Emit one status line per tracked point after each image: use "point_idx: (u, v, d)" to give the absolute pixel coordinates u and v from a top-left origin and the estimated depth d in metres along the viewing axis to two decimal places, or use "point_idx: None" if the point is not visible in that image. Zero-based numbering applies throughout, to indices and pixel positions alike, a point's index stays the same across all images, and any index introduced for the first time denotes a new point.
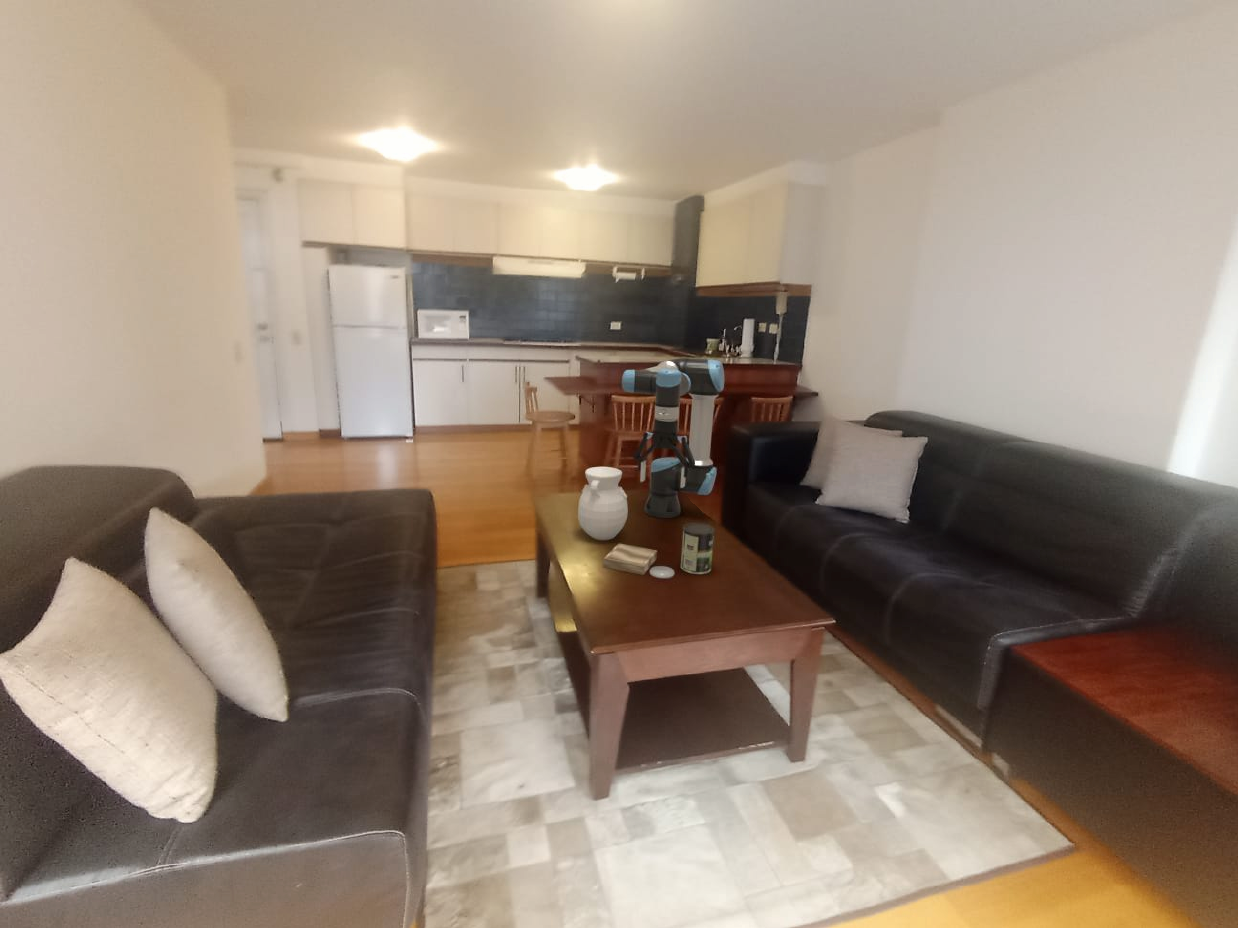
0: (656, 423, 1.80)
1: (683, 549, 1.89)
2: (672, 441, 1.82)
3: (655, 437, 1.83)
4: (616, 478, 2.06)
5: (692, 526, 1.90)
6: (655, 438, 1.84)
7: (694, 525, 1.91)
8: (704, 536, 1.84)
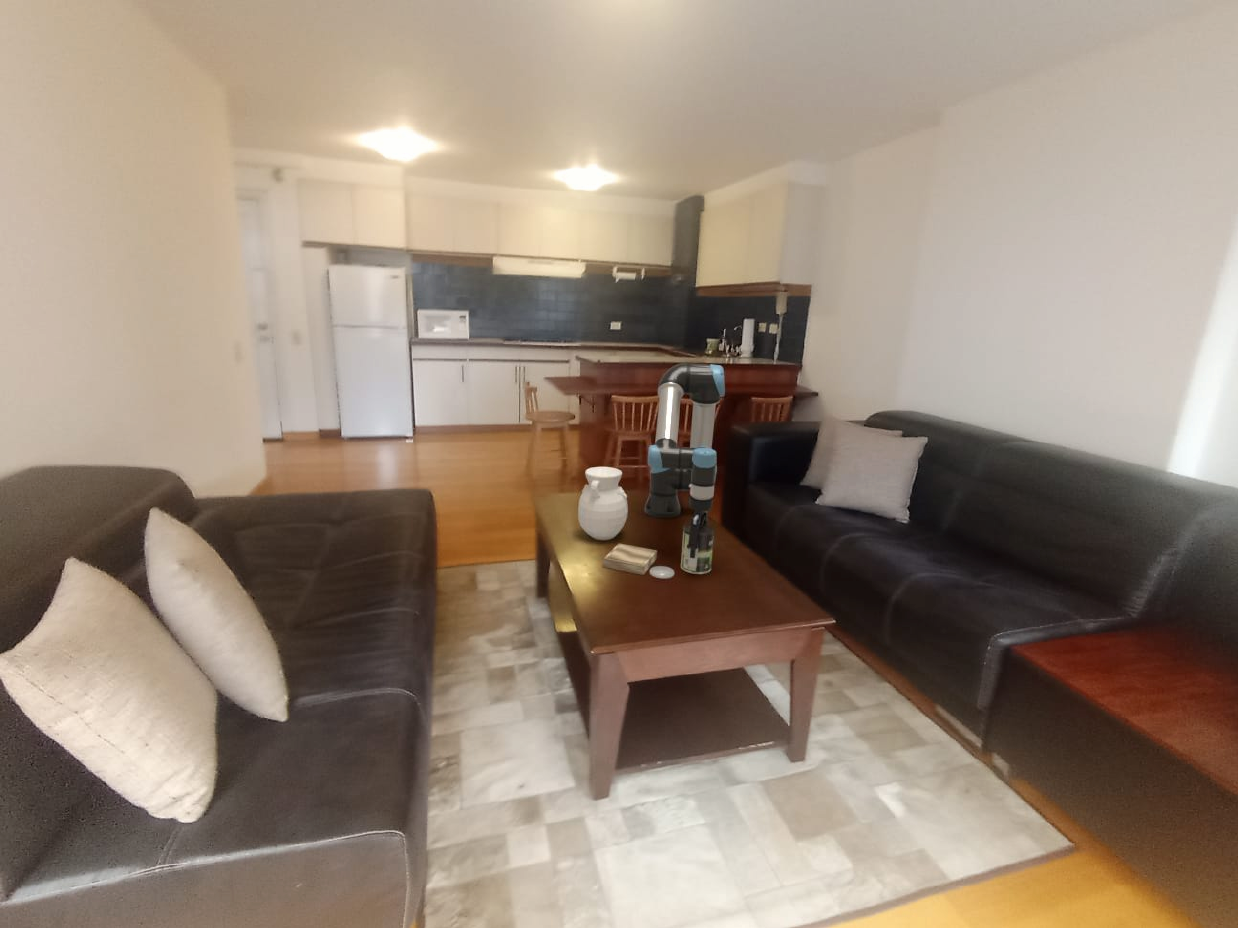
0: None
1: (683, 549, 1.89)
2: (694, 517, 1.85)
3: None
4: (616, 478, 2.06)
5: None
6: None
7: None
8: (704, 536, 1.84)
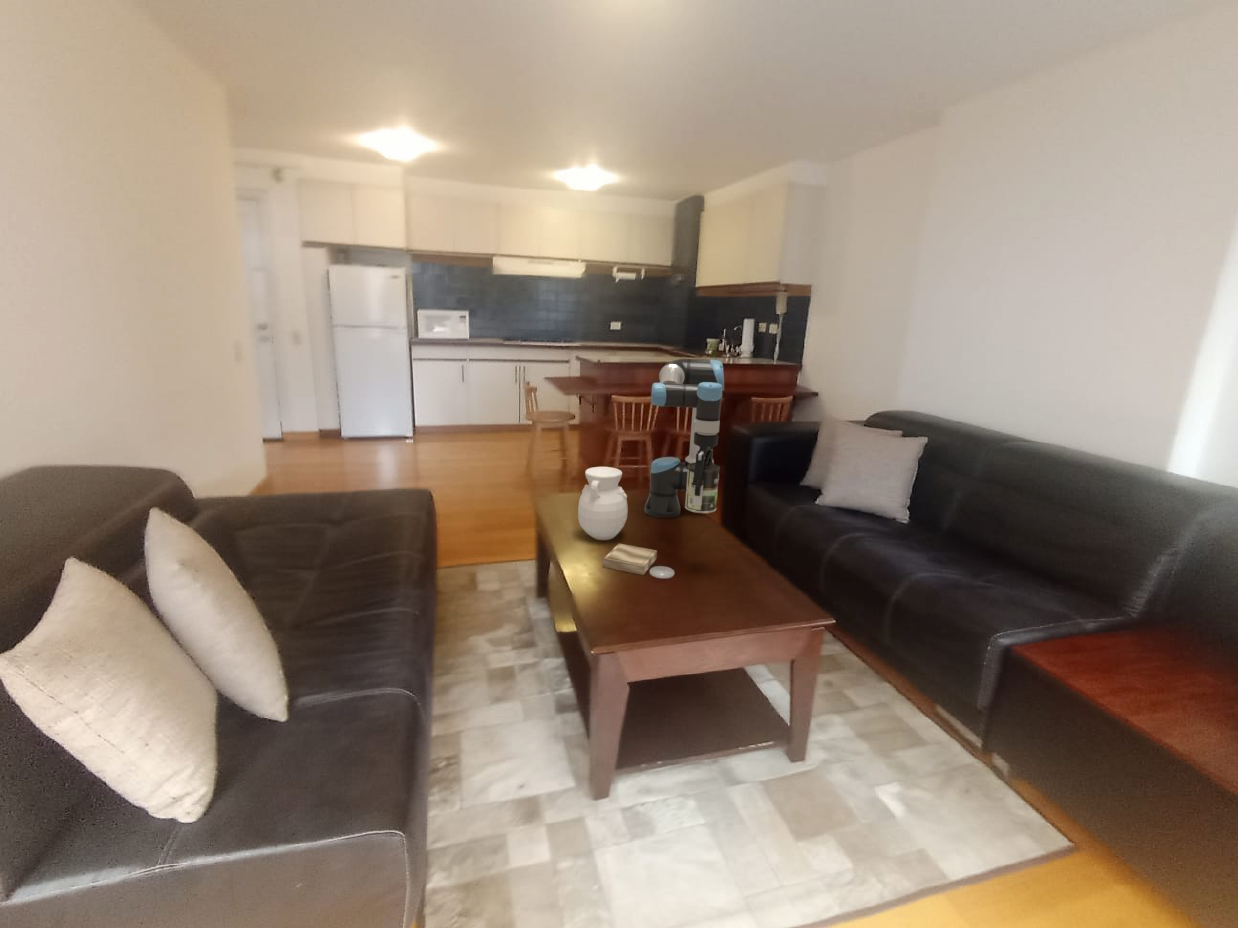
0: None
1: (687, 488, 1.84)
2: None
3: None
4: (616, 478, 2.06)
5: None
6: None
7: None
8: (709, 473, 1.79)
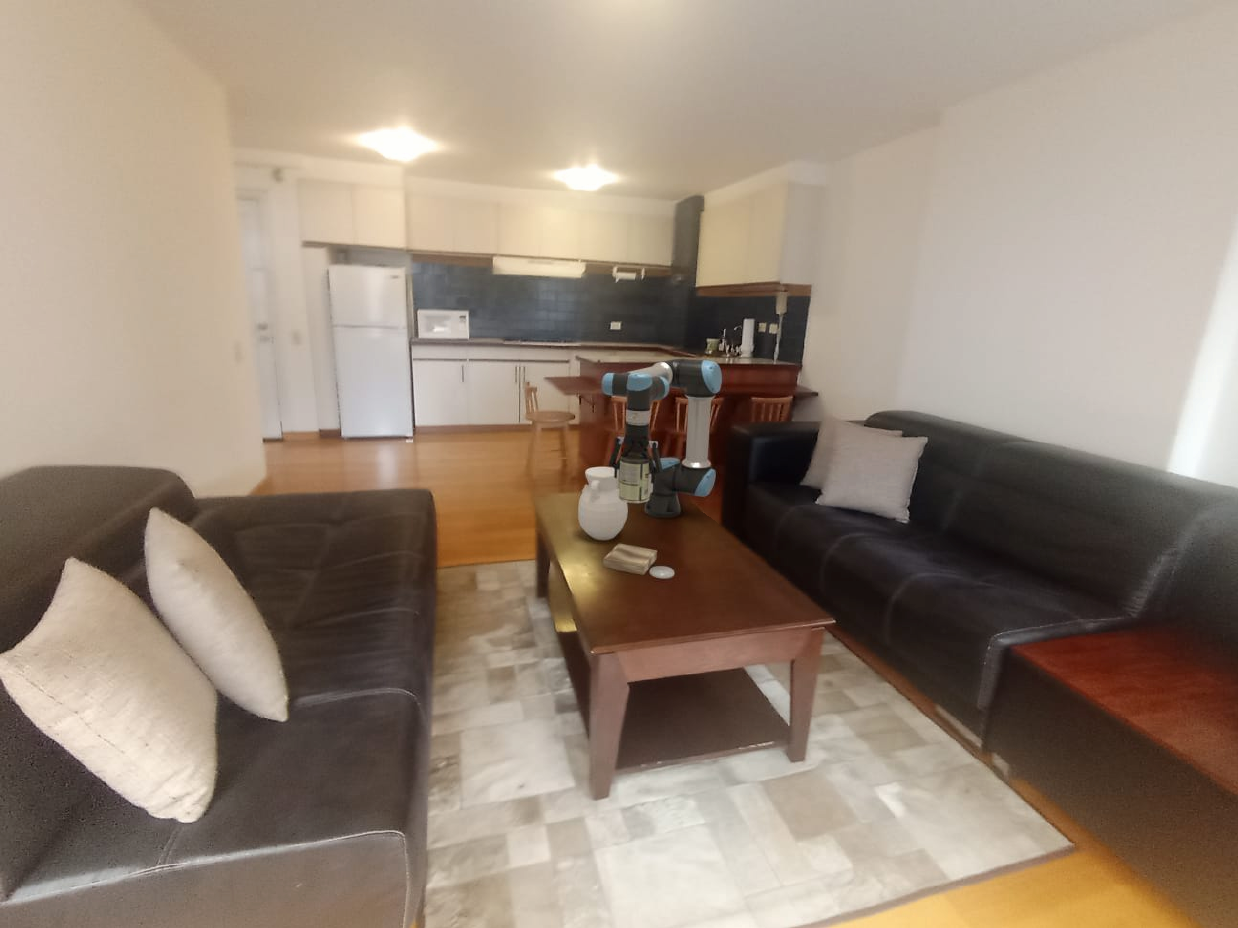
0: (627, 427, 1.80)
1: (640, 482, 1.82)
2: (643, 445, 1.81)
3: (626, 441, 1.83)
4: (616, 478, 2.06)
5: (631, 458, 1.83)
6: (626, 442, 1.83)
7: (627, 457, 1.83)
8: None
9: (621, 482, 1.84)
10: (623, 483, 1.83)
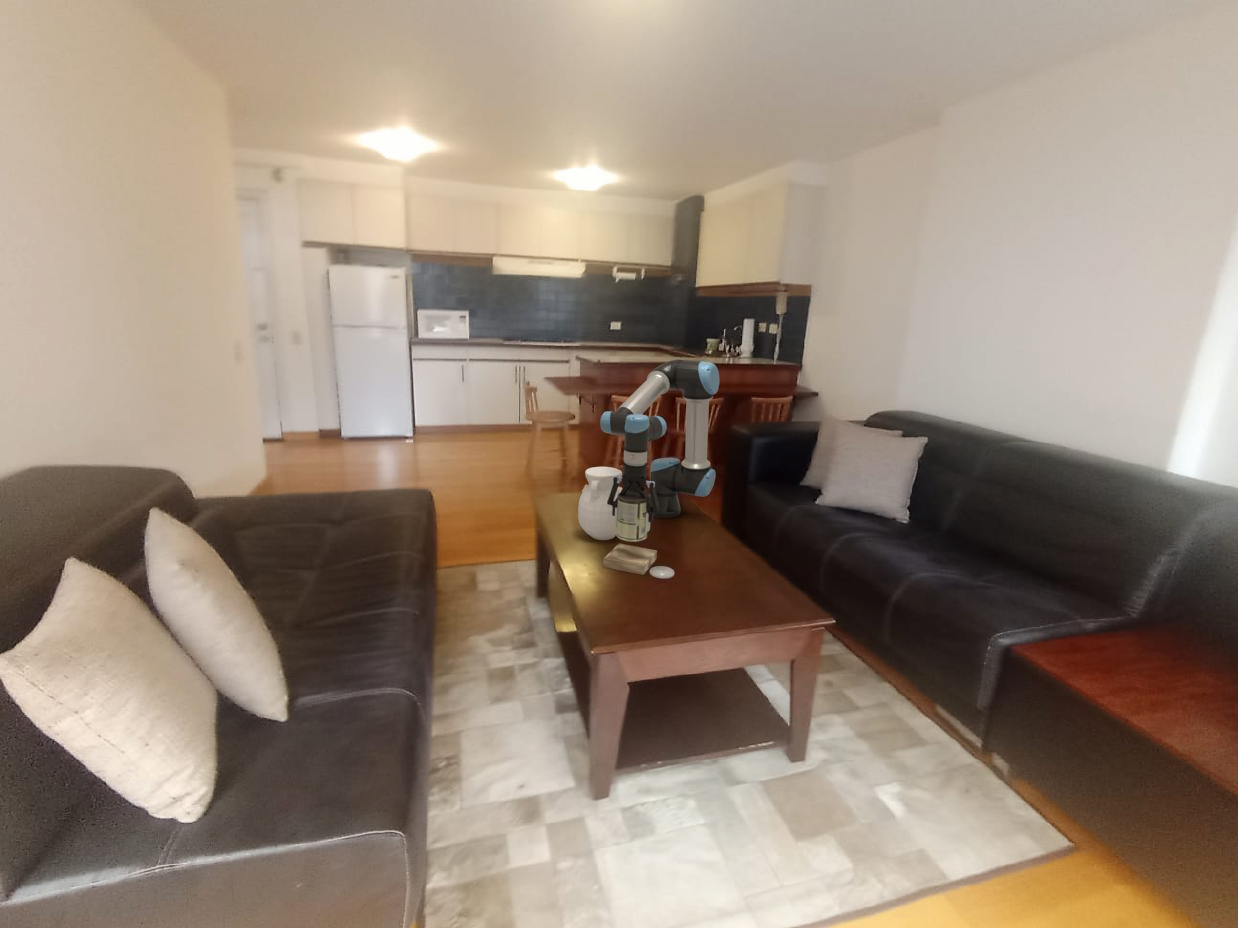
0: (625, 467, 1.83)
1: (637, 521, 1.85)
2: (641, 485, 1.85)
3: (624, 480, 1.87)
4: None
5: (628, 497, 1.86)
6: (624, 481, 1.87)
7: (625, 496, 1.87)
8: None
9: (619, 521, 1.88)
10: (621, 522, 1.87)
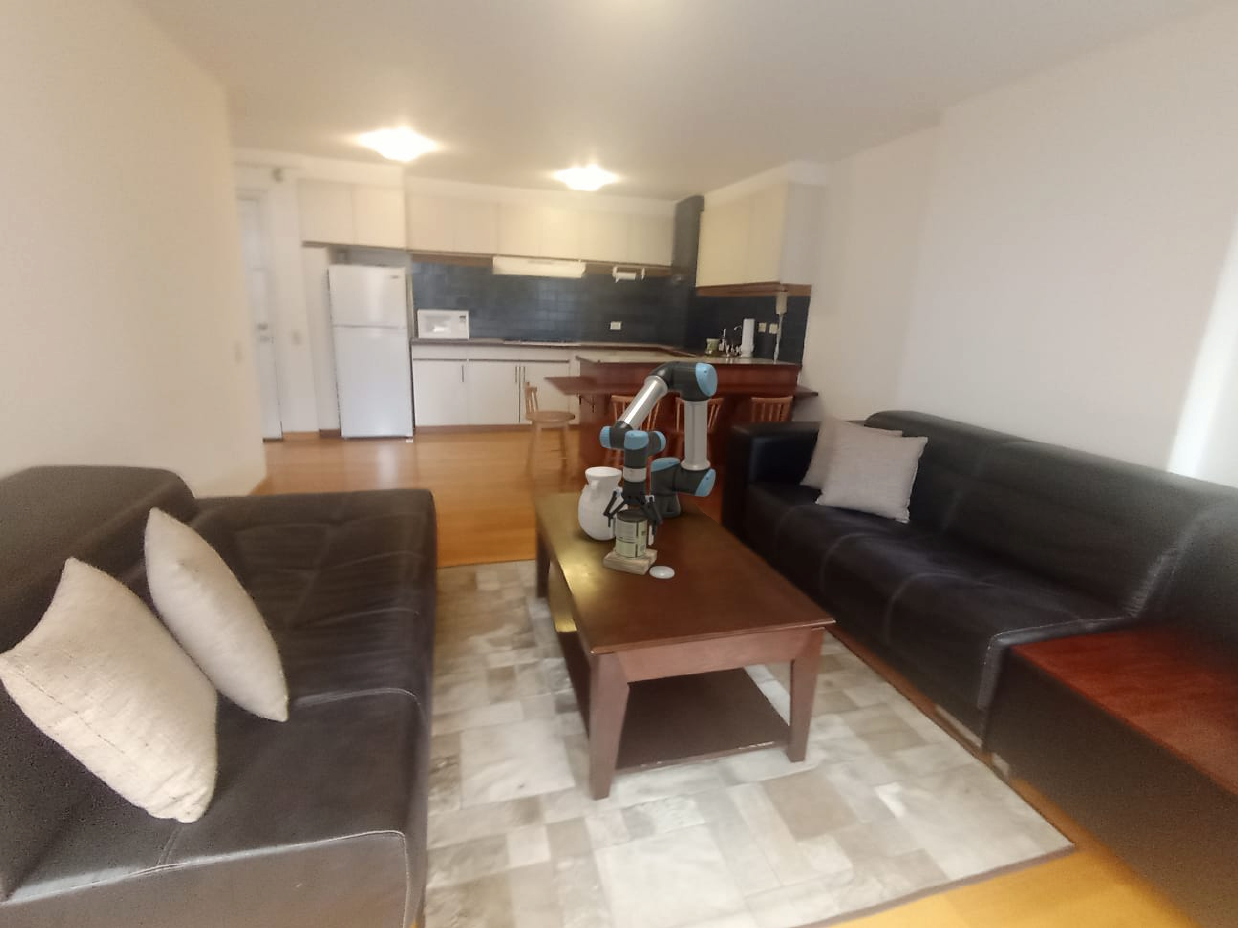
0: (624, 483, 1.85)
1: (636, 539, 1.87)
2: (640, 500, 1.86)
3: (624, 496, 1.88)
4: (616, 478, 2.06)
5: (627, 516, 1.88)
6: (624, 497, 1.88)
7: (624, 515, 1.89)
8: None
9: (618, 539, 1.89)
10: (620, 540, 1.88)
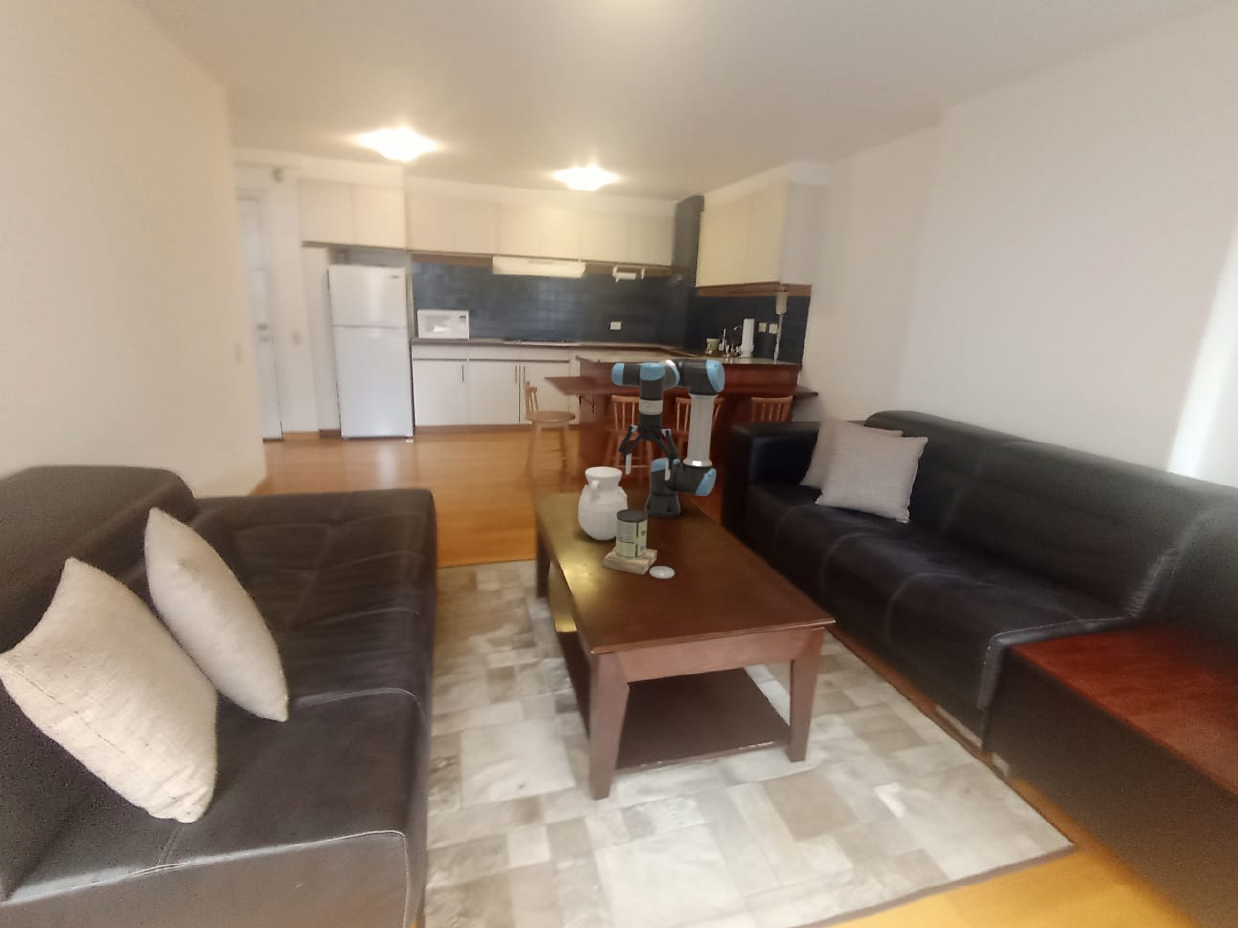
0: (640, 416, 1.81)
1: (636, 539, 1.87)
2: (656, 434, 1.83)
3: (640, 430, 1.85)
4: (616, 478, 2.06)
5: (627, 516, 1.88)
6: (640, 431, 1.85)
7: (624, 515, 1.89)
8: None
9: (618, 539, 1.89)
10: (620, 540, 1.88)
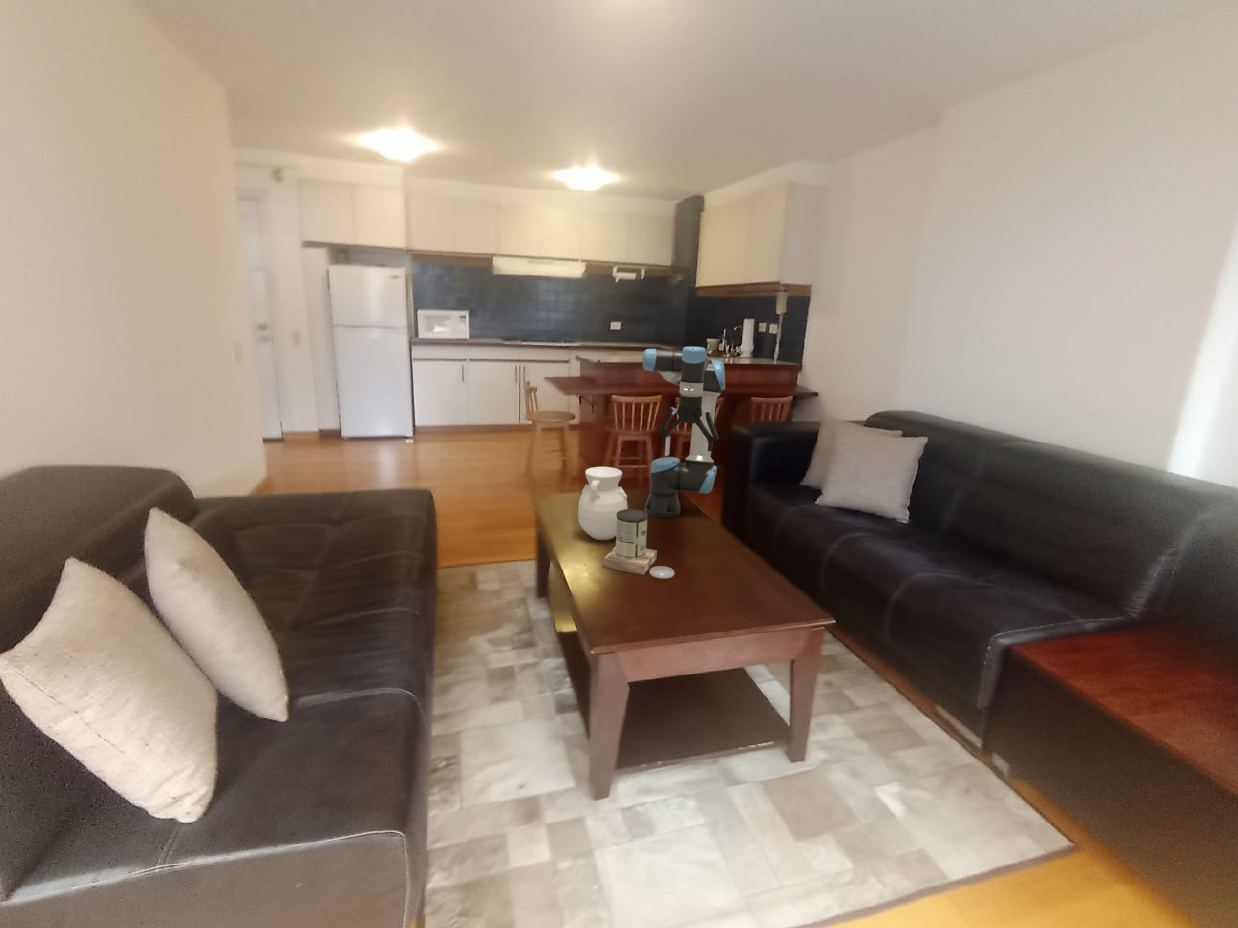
0: (681, 398, 1.87)
1: (636, 539, 1.87)
2: (696, 416, 1.88)
3: (680, 412, 1.90)
4: (616, 478, 2.06)
5: (627, 516, 1.88)
6: (680, 413, 1.90)
7: (624, 515, 1.89)
8: None
9: (618, 539, 1.89)
10: (620, 540, 1.88)
